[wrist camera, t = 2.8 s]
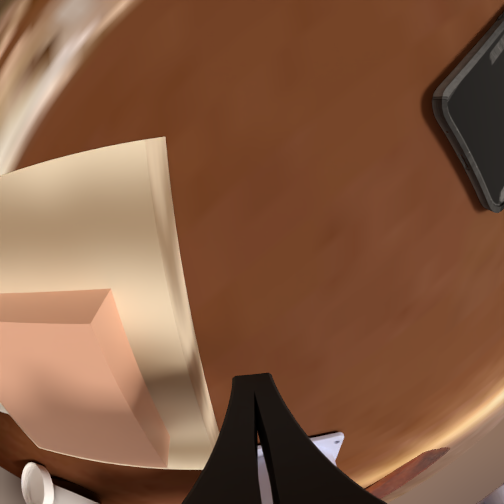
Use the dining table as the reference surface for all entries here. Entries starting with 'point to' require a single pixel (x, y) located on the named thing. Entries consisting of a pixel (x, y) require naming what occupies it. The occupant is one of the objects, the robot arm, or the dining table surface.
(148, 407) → the tile
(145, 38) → the dining table surface
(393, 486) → the wooden tablet
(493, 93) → the phone
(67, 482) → the spread jar
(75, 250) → the block
